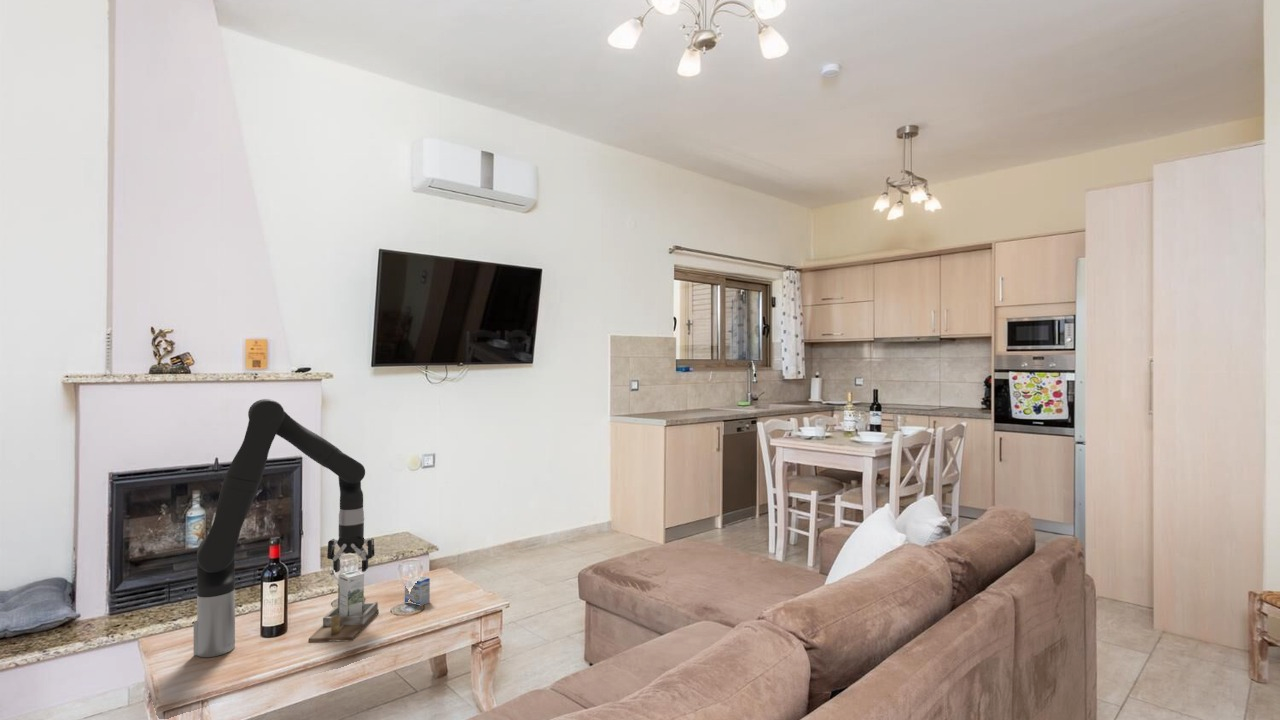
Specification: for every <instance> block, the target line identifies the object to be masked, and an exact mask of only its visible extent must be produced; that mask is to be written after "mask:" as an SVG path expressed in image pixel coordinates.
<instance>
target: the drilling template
mask: <svg viewBox="0 0 1280 720" xmlns="http://www.w3.org/2000/svg"><path fill="white" fill-rule="evenodd" d="M378 604H379V603H378V601H376V602H375V601H373V602H370V601H369V602H364V613H363V615H362V616H339V615H338V604H337V605H335V607H333V608H332V610H331V611H329V612H328V613H327V614H326V615H325V616H324V617H322V626H321V627H319V628H318V629H317V630H316V631H315V632H314V633H313V634H312V635H311V636H310V637H308V643H314V642H313V641H324V642H330V641H329V640H349V641H350V640H353V639H354V640H355V639H356V638H357V636H358V635H359V634H361V632H362V631H363V630H364V629H365V628H366V626H368V624H369V623H371V622H372V620H373V619H374V618H375V617H376V616H377V615H378V613H379V611H380V610H379V609H378ZM376 614H377V615H376ZM354 640H353V641H354ZM349 641H348V642H349Z"/></svg>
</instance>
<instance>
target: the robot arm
mask: <svg viewBox="0 0 1280 720" xmlns="http://www.w3.org/2000/svg"><path fill="white" fill-rule="evenodd" d="M247 417H248V424H247V427H246V431H245V435H244V438H243V441H242V443H241V445H240V447H239V449H238V450H237V452H236V453H235V456H234V457H233V460H231V463H230V465H229V467H228V469H227V472H226V474H225V476H224V479H223V483H222V485H221V488H220V491H219V495H218V500H217V505H216V509H215V510H216V511H215V514H214V519H213V523H212V526H211V527H210V530H209V532H208V534H207V535H206V536H207V537H206V538H205V539H204V540H202V541H201V542H200V544H199V545H198V548H197V551H196V574H197V575H196V621H194V622H193V656H198V657H199V658H212V657H213V658H214V657H217V656H221V655H224V654H227V653H229V652H231V651H232V650H234V649H235V647H236V575H235V574H236V573H235V569H236V568H235V565H236V564H235V561H236V560H235V558H236V557H235V555H236V552H237V551H236V550H237V546H238V541H239V538H240V533H241V530H242V527H243V524H244V522H245V519H246V517H247V516H248V513H249V511H250V509H251V507H252V505H253V503H254V500H255V497H256V495H257V493H258V490H259V487H260V485H261V481H262V479H263V475H264V472H265V468H266V466H267V465H266V464H267V461H268V458H269V457H268V456H269V452H270V449H271V446H272V445H273V444H272V443H273V441H274V439H275V437H276V436H279V437H280V438H282V439H284V440H285V441H286V442H288V443H289V444H291V445H293V446H294V447H295V448H296V449H298V451H300V452H301V453H303V454H304V455H305V456H306V457H308V458H309V459H311V460H313V461H314V462H316V463H318V465H320V466H322V467H324V468H326V469H327V470H329V471H331V472H333V473H334V474H335V475H336V476H338V485H339V510H338V511H339V513H338V539H335V538H331V539H330V540H328V543H327V554H326V558H327V559H328V560H332V561H333V567H332V568H333V571H334V572H335V573H339V572H340V571H341V557H342V555H343V554H345V555H346V554H357V555H358V556H360V558H361V559H362V560H361V572H362V573H364V572H366V571H367V570H368V569H369V559H372V558H373V557H374V556H375V539H374V538H373V537H372V538H367V539H365V537H364V534H365V529H364V528H365V514H364V513H365V512H364V491H363V490H362V481H363V479H364V478H365V475H366V469H365V467H364V465H363V464H362V463H361V462H360V461H357V459H354V458H352V457H351V456H350V455H348V454H347V453H344V452H343V451H342V450H341V449H340V448H338V447H337V446H335V445H334V444H332V443H331V442H329V441H328V440H326V439H325V438H324V437H323V436H320V435H318V434H317V433H315V432H313V431H312V430H311V429H310V430H309V429H308V428H306V426H303V425H302V424H301V423H299V422H298V421H296V420H295V419H294V418H292V417H291V416H290V415H289V414H288V413H287V412H286V411H285V409H284V407H283V406H282V404H281V403H279V402H278V401H275V400H273V399H270V398H263V399H259V400H256V401H255V402H253V403H252V405H250V407H249V408H248V413H247ZM364 544H365V546H366V547H367V551H366V549H365V547H364ZM336 546H338V548H339V550H337V552H336V553H335V549H336V548H335V547H336Z"/></svg>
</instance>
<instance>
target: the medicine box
mask: <svg viewBox="0 0 1280 720" xmlns="http://www.w3.org/2000/svg"><path fill="white" fill-rule="evenodd" d="M430 582H431V579H430V578H429V577H424V576H420V579H419V580H418V581H417V583H415V585H414V586H413V588H412V589H411V592H410V594H409V591H408V589H407V588H406V586H405V585H404V603H405V602H408V600H409V599H410V601H411V602H413V603H416V604H420V605H422V606H425V605H427V604H429V603H430V601H431V600H430V599H431V597H430V596H431V595H430V594H431V593H430V592H431V588H430V586H431V583H430ZM424 604H425V605H424Z"/></svg>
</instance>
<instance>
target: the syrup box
mask: <svg viewBox="0 0 1280 720" xmlns="http://www.w3.org/2000/svg"><path fill="white" fill-rule="evenodd" d="M337 580H338V581H337V582H338V584H337V585H338V587H337V590H338V591H337V592H338V593H337V595H338V597H337V605H338V615H339V616H362V615H363V613H364V603H365V602H364V600H365V599H364V598H365V595H364V593H365V592H364V591H365V573H364V572H362V571H359V570H357V569H356V570H350V571H347V572H344V573H340V574H338V578H337Z"/></svg>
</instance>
